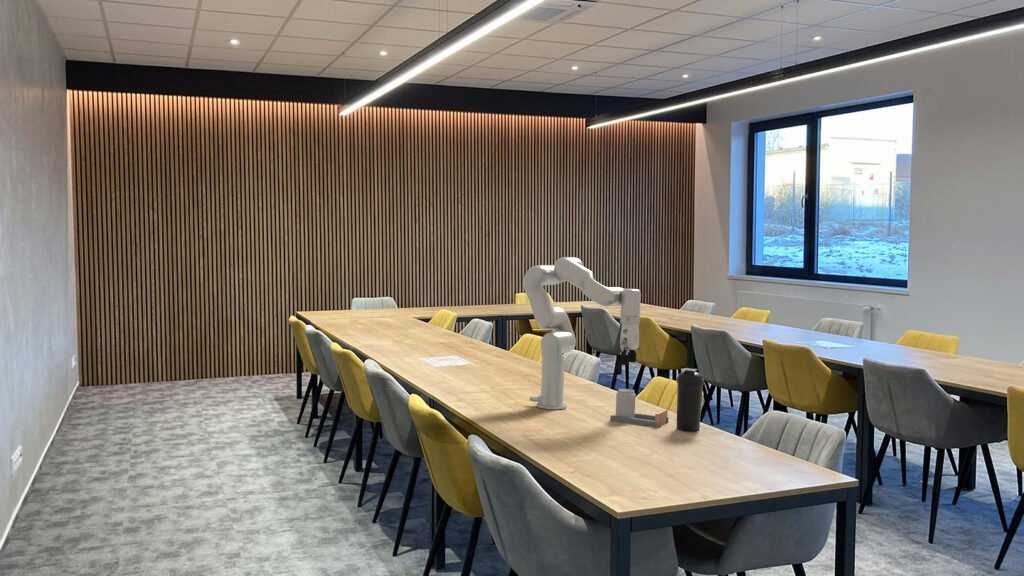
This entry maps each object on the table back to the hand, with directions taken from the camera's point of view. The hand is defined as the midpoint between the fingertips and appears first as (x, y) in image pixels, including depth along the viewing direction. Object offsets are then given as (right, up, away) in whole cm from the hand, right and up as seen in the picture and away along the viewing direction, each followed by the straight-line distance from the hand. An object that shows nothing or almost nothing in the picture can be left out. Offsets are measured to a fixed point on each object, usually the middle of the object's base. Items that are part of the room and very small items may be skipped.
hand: (627, 363), depth 337 cm
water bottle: (+21, -24, -13) cm, 34 cm away
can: (-1, -23, +1) cm, 23 cm away
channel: (+4, -23, -2) cm, 23 cm away
